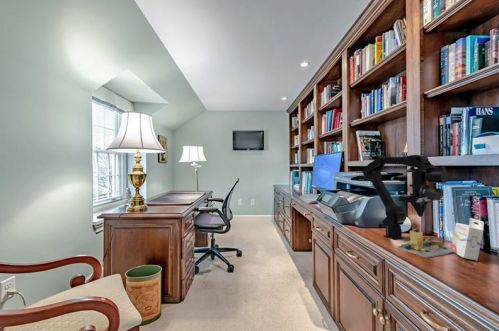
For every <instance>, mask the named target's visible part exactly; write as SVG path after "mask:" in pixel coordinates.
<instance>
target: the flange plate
mask: <svg viewBox="0 0 499 331" xmlns="http://www.w3.org/2000/svg"><path fill="white" fill-rule="evenodd" d="M442 246H445V245H443V244H442ZM397 249H400V250H402V251H405V252H408V253H411V254H414V255H416V256H420V257H423V258H425V259H428V258H434V257H435V258H436V257H441V256H446V255H451V254H452V255H453V254H455V253H454V252H452V251H451V246H447V245H446V246H445V248H442V247H435V246H432V245H427V246H423V249H425V251H423V250H416V249H413V248H408V249H404V248H401V246H400V245H399V246H397Z"/></svg>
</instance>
